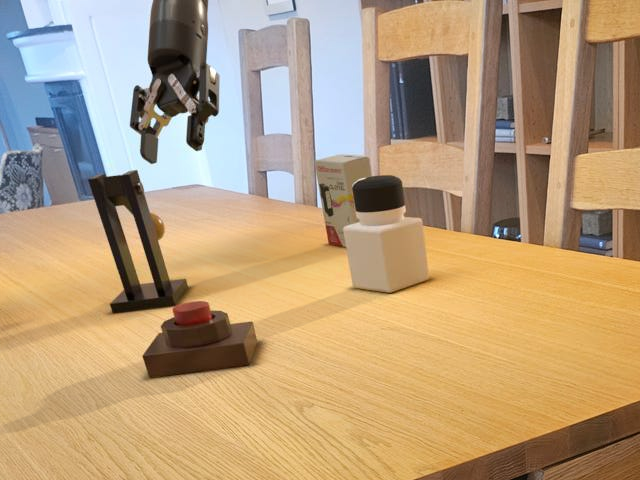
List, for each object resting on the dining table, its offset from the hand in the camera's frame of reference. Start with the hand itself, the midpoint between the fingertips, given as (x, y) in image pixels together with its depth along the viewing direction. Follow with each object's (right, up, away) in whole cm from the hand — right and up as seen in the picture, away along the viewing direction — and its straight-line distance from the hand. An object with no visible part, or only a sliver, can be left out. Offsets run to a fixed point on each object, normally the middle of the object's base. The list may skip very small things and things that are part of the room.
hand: (171, 154), depth 114 cm
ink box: (+23, -5, +16) cm, 28 cm away
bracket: (-1, -21, -3) cm, 22 cm away
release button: (+14, -35, -30) cm, 48 cm away
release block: (+14, -38, -28) cm, 49 cm away
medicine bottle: (+31, -22, -8) cm, 39 cm away
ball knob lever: (-3, -12, -4) cm, 13 cm away
